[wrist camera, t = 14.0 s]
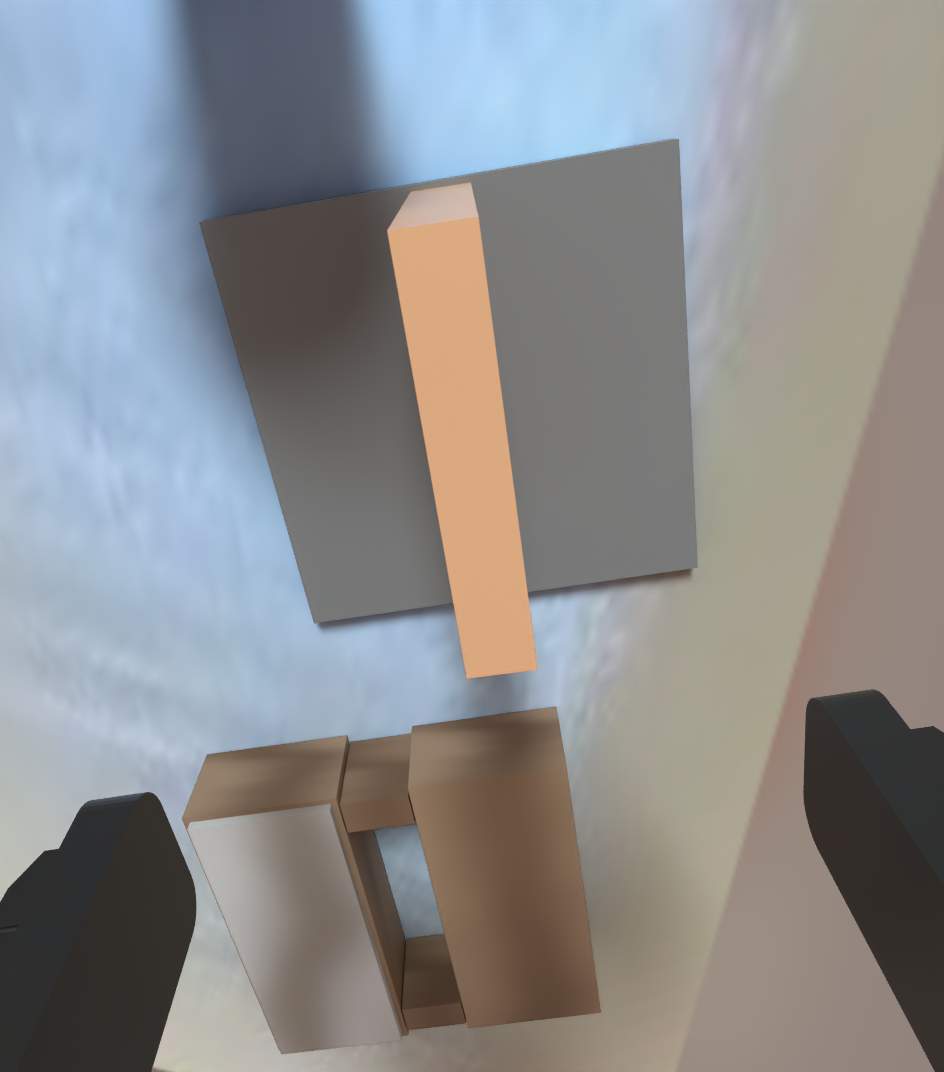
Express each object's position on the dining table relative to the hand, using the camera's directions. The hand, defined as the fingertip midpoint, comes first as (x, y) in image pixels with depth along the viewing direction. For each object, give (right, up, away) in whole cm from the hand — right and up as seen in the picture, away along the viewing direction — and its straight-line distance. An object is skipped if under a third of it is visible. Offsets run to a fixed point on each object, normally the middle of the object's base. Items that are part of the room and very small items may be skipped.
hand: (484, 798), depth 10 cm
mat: (0, +7, +13) cm, 15 cm away
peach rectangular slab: (0, +2, +11) cm, 11 cm away
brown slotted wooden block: (-2, -9, +21) cm, 23 cm away
